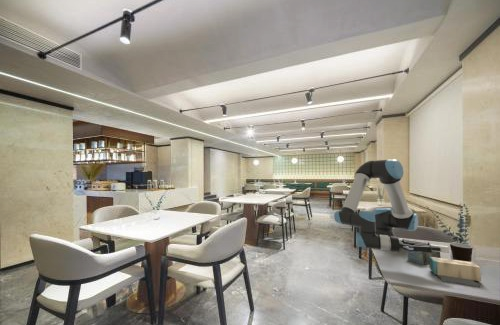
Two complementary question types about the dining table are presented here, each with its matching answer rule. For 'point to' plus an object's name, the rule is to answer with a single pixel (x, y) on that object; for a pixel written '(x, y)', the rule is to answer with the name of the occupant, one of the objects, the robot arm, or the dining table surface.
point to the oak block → (455, 268)
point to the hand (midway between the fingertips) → (448, 249)
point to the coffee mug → (461, 252)
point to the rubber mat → (458, 280)
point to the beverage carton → (422, 256)
